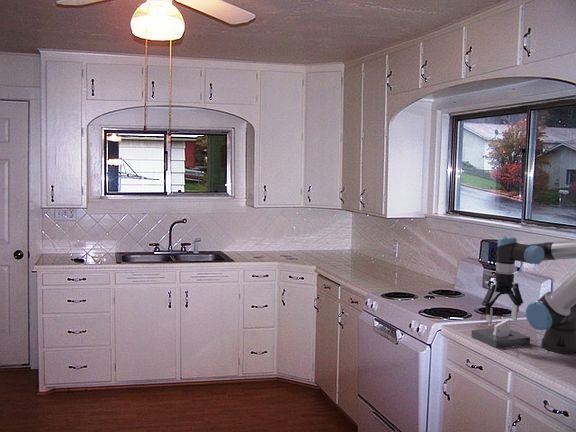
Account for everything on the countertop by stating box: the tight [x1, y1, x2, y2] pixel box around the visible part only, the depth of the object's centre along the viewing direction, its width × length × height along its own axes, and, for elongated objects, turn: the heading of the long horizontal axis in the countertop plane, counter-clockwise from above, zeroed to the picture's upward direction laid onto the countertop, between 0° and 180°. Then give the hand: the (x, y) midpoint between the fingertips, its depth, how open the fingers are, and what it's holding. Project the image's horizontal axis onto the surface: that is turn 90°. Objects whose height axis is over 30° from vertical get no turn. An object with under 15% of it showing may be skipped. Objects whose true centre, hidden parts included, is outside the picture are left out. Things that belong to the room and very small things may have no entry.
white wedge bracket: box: [493, 318, 511, 337], centre depth 267 cm, size 4×10×9 cm, turn 92°
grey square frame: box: [471, 327, 531, 349], centre depth 267 cm, size 16×18×3 cm
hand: (501, 320), depth 266 cm, fingers open, 13 cm apart
